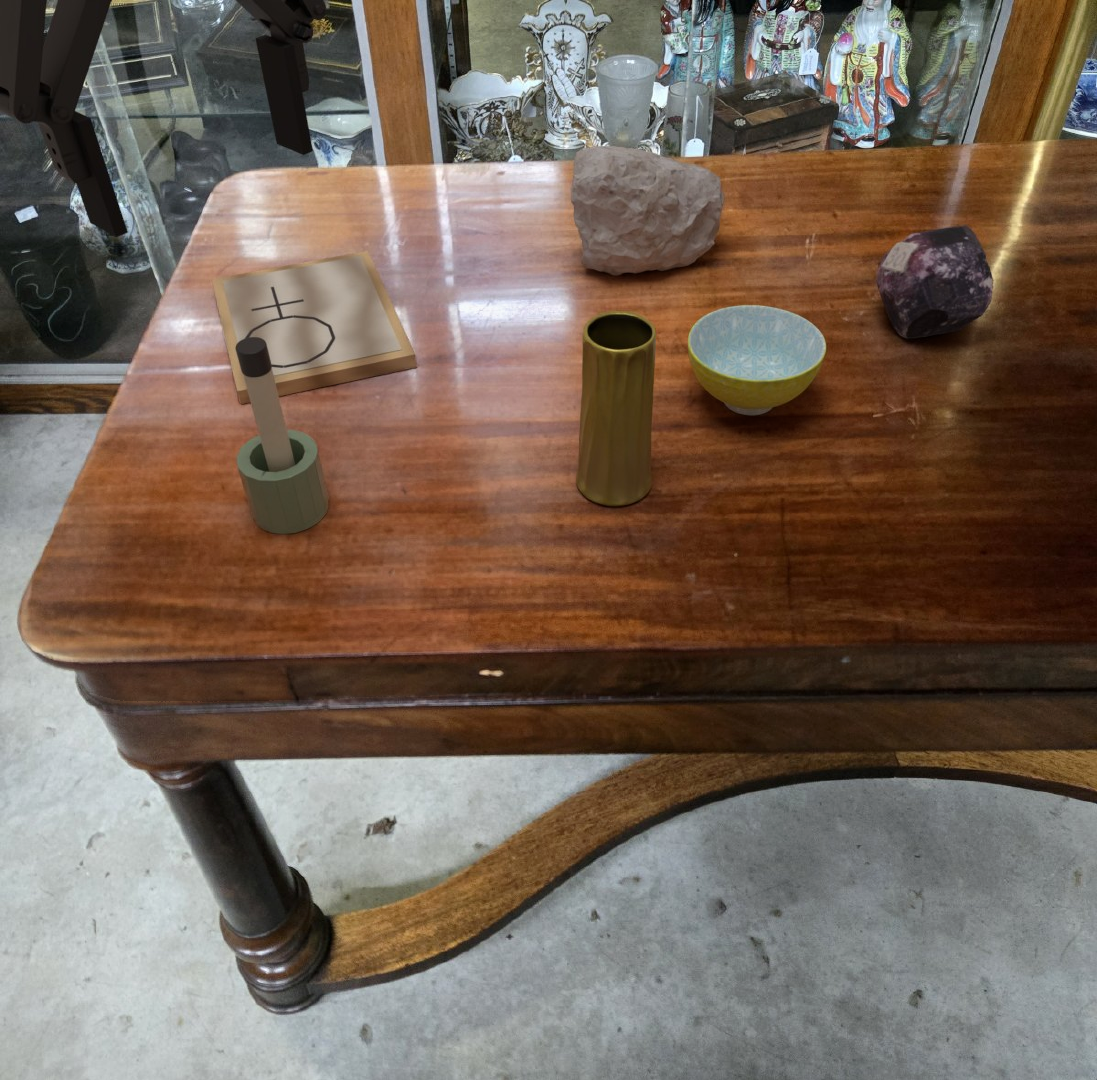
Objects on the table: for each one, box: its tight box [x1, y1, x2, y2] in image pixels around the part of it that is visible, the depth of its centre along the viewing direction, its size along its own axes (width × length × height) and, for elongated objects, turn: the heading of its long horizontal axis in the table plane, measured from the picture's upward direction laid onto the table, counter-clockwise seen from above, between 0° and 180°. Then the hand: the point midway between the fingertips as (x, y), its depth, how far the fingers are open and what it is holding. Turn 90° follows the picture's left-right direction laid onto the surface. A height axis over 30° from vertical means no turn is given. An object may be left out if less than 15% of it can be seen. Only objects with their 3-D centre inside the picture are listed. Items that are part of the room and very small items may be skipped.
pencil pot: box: [235, 429, 330, 535], centre depth 80 cm, size 6×6×6 cm
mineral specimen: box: [875, 224, 995, 339], centre depth 96 cm, size 10×10×10 cm
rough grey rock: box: [570, 145, 725, 276], centre depth 103 cm, size 16×9×15 cm, turn 108°
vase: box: [575, 310, 657, 507], centre depth 78 cm, size 6×6×14 cm
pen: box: [235, 337, 295, 472], centre depth 76 cm, size 2×2×15 cm
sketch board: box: [211, 250, 418, 405], centre depth 99 cm, size 16×20×2 cm
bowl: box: [687, 304, 827, 416], centre depth 89 cm, size 11×12×6 cm
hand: (207, 185), depth 63 cm, fingers open, 13 cm apart
